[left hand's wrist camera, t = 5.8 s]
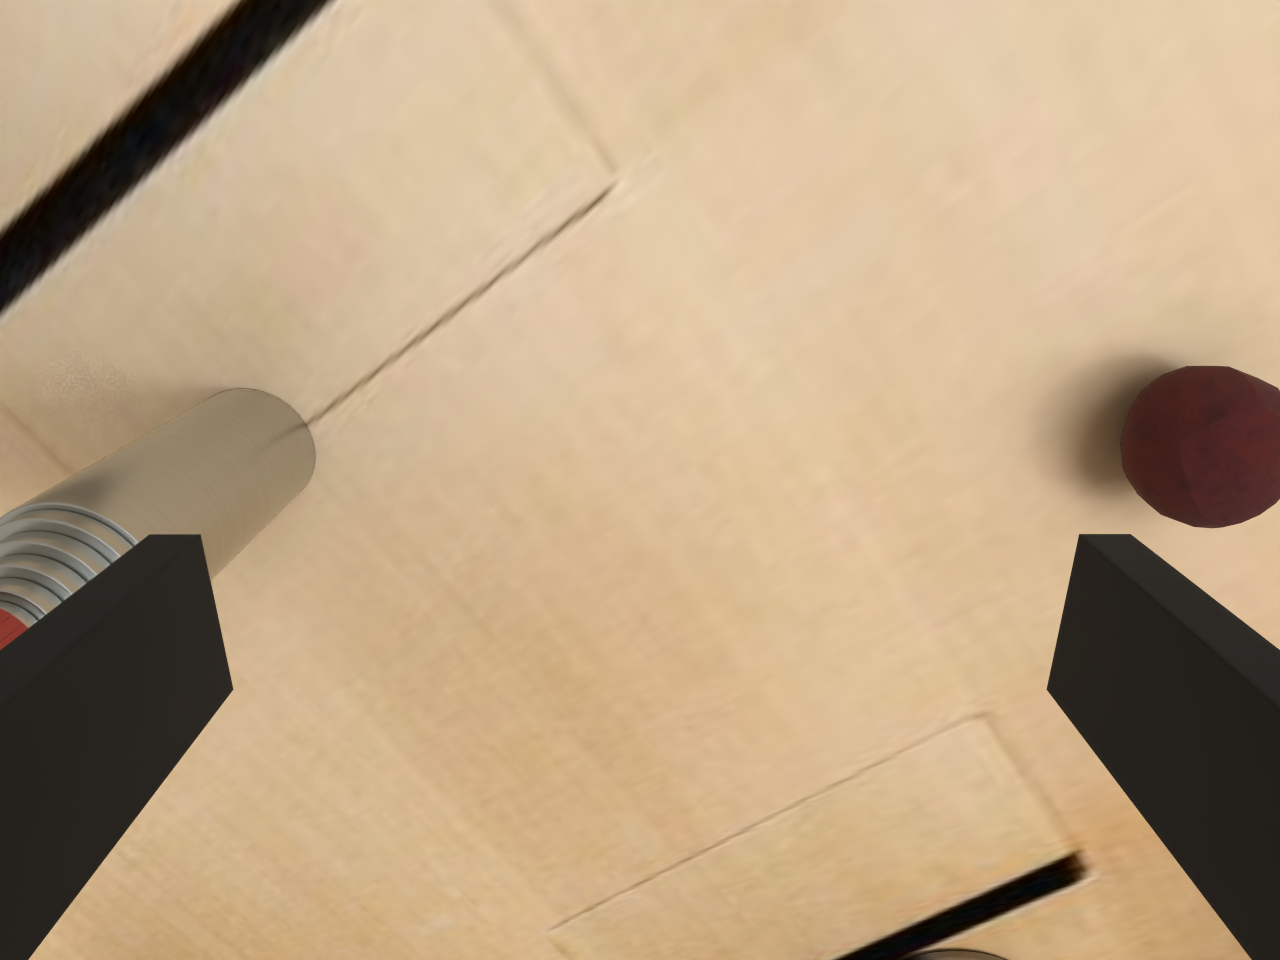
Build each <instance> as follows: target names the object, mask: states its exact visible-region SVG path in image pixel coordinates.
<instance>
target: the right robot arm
mask: <svg viewBox="0 0 1280 960" xmlns="http://www.w3.org/2000/svg"><path fill="white" fill-rule="evenodd" d="M904 960H1004V959H1001V958H998V957H995V956H992V955H987V954H983V953H976V952H968V951H944V952H934V953H928V954H923V955H918V956H914V957H911V958H908V959H904Z"/></svg>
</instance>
